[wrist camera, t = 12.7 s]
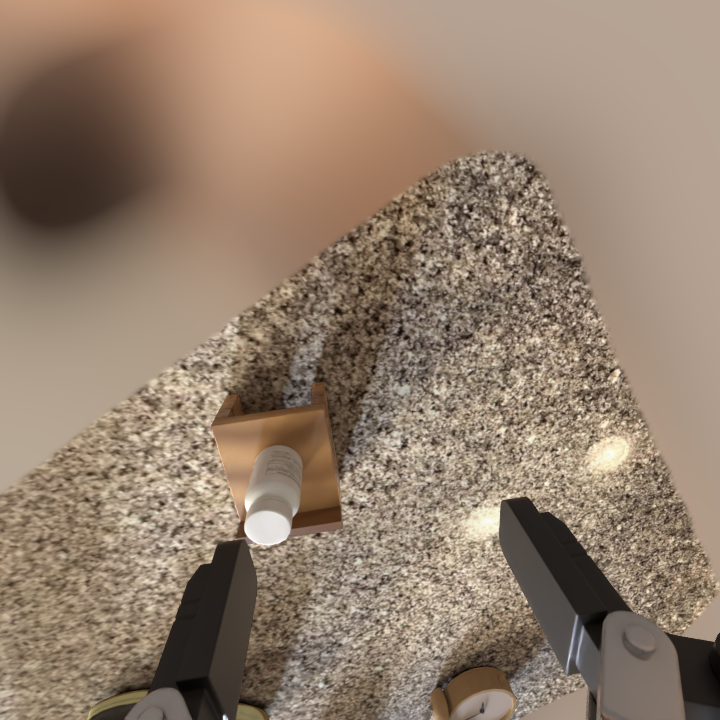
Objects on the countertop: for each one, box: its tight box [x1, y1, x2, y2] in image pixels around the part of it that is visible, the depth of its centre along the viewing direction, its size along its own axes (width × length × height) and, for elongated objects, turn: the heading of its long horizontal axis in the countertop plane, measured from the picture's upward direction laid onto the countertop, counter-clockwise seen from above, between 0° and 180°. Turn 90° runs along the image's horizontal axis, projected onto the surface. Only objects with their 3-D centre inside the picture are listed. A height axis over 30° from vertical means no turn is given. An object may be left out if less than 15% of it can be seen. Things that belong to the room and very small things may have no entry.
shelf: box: [211, 382, 343, 544], centre depth 37 cm, size 12×10×8 cm
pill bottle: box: [244, 445, 303, 545], centre depth 31 cm, size 4×4×8 cm
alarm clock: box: [423, 667, 517, 720], centre depth 59 cm, size 11×5×15 cm
